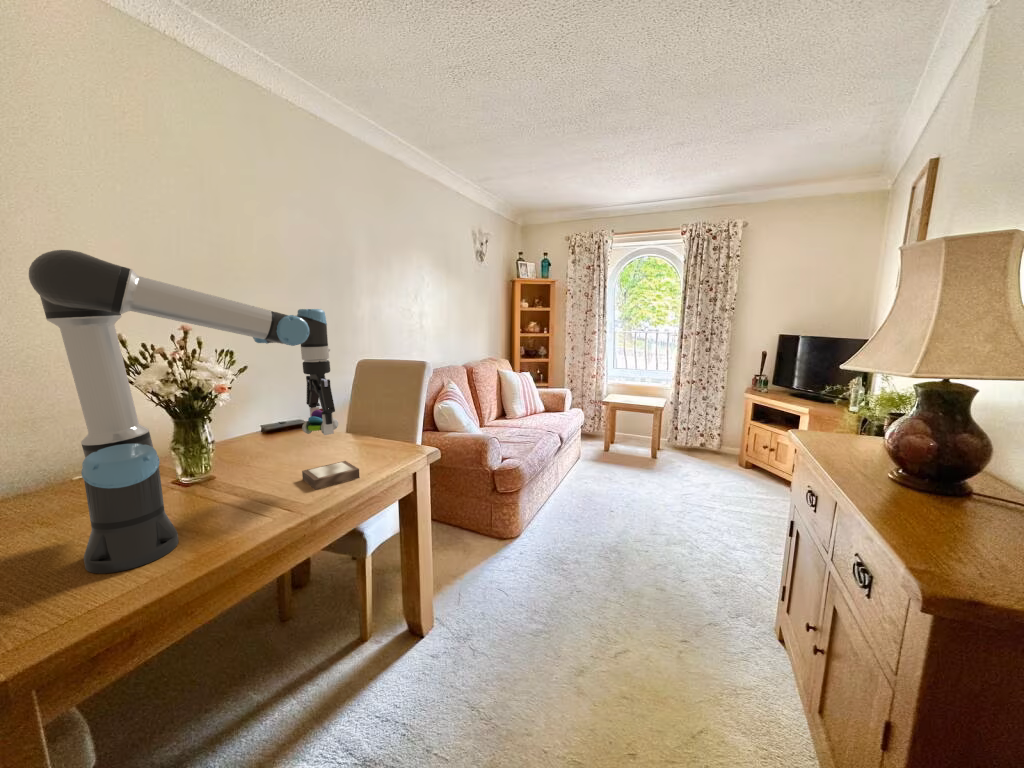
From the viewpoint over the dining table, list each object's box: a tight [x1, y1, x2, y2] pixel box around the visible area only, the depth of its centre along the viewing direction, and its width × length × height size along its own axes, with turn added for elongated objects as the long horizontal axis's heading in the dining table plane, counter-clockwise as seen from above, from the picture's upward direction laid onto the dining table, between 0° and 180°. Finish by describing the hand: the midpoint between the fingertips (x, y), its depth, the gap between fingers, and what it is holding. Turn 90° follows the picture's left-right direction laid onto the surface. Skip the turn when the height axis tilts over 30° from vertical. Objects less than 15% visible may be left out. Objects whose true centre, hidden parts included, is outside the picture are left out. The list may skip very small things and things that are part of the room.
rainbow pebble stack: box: [301, 407, 339, 435], centre depth 127 cm, size 8×10×7 cm
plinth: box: [301, 460, 360, 490], centre depth 133 cm, size 14×11×3 cm
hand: (322, 430), depth 127 cm, fingers closed on rainbow pebble stack, 10 cm apart
